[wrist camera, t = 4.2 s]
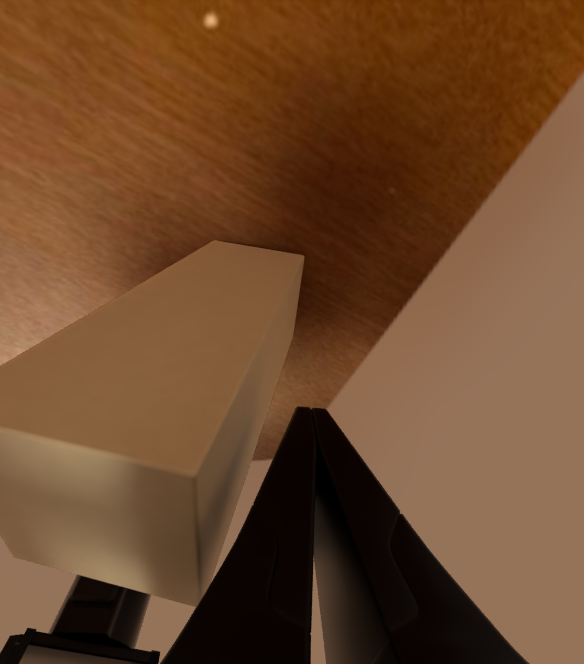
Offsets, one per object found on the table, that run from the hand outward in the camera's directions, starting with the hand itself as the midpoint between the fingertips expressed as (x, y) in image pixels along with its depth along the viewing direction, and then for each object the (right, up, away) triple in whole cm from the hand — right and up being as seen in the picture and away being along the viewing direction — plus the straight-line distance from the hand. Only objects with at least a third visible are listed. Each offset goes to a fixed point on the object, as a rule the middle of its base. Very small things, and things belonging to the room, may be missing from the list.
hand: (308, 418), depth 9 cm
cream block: (-2, +5, +7) cm, 9 cm away
